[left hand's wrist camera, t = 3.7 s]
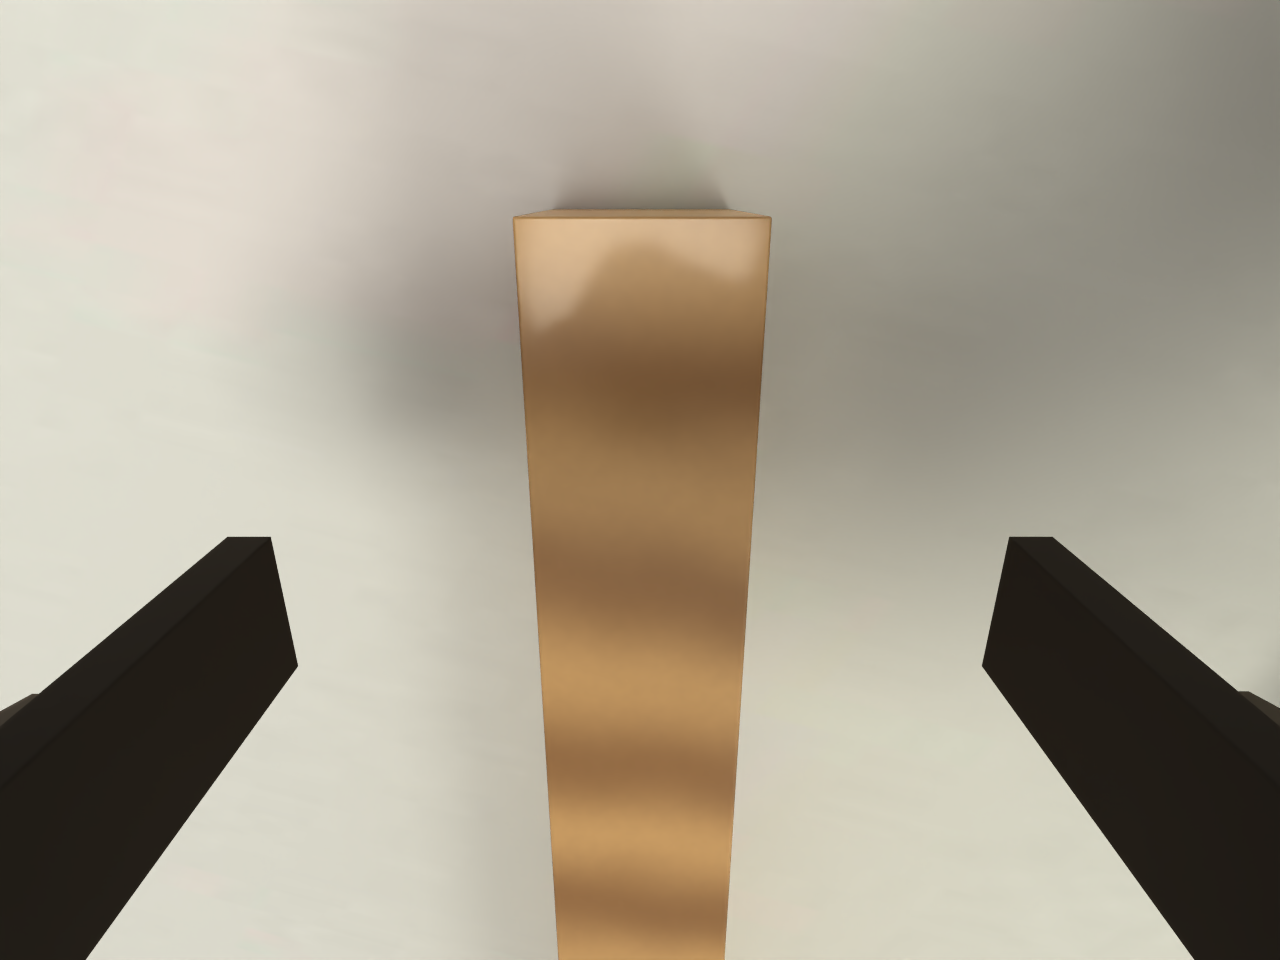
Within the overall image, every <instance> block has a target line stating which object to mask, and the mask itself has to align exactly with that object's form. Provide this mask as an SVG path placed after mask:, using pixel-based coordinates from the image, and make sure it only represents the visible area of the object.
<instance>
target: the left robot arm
mask: <svg viewBox="0 0 1280 960" xmlns="http://www.w3.org/2000/svg"><path fill="white" fill-rule="evenodd" d="M297 667H298V663H297V659H296V654H295V649H294V645H293V640H292V635H291V630H290V626H289V621H288V616H287V612H286V607H285V602H284V597H283V593H282V588H281V583H280V579H279V574H278V569H277V564H276V560H275V555H274V550H273V546H272V541H271V537H227V538H226V539H224V540H223V541H222V542H221V543H220V544H218V545H217V546H216V547H215V548H214V549H212V550H211V551H210V552H209V553H208V554H206V555H205V556H204V557H203V558H202V559H200V560H199V561H198V562H197V563H196V564H194V565H193V566H192V567H191V568H190V569H188V570H187V571H186V572H185V573H184V574H182V575H181V576H180V577H179V578H178V579H176V580H175V581H174V582H173V583H172V584H170V585H169V586H168V587H167V588H166V589H164V590H163V591H162V592H161V593H160V594H158V595H157V596H156V597H155V598H154V599H152V600H151V601H150V602H149V603H148V604H146V605H145V606H144V607H143V608H142V609H140V610H139V611H138V612H137V613H136V614H134V615H133V616H132V617H131V618H130V619H128V620H127V621H126V622H125V623H124V624H122V625H121V626H120V627H119V628H118V629H116V630H115V631H114V632H113V633H112V634H110V635H109V636H108V637H107V638H106V639H104V640H103V641H102V642H101V643H100V644H98V645H97V646H96V647H95V648H94V649H92V650H91V651H90V652H89V653H88V654H86V655H85V656H84V657H83V658H82V659H80V660H79V661H78V662H77V663H76V664H74V665H73V666H72V667H71V668H70V669H68V670H67V671H66V672H65V673H64V674H62V675H61V676H60V677H59V678H58V679H56V680H55V681H54V682H53V683H51V684H50V685H49V686H48V687H47V688H45V689H44V690H43V691H42V692H41V693H39V694H31V695H29V696H27V697H26V698H24V699H22V700H20V701H18V702H16V703H15V704H13V705H11V706H9V707H7V708H6V709H4V710H2V711H0V960H86V959H87V957H88V956H89V954H90V953H91V952H92V950H93V949H94V947H95V946H96V945H97V943H98V942H99V941H100V939H101V938H102V936H103V935H104V934H105V932H106V931H107V929H108V928H109V927H110V925H111V924H112V923H113V921H114V920H115V918H116V917H117V916H118V914H119V913H120V912H121V910H122V909H123V907H124V906H125V905H126V903H127V902H128V900H129V899H130V898H131V896H132V895H133V894H134V892H135V891H136V889H137V888H138V887H139V885H140V884H141V882H142V881H143V880H144V878H145V877H146V876H147V874H148V873H149V871H150V870H151V869H152V867H153V866H154V865H155V863H156V862H157V860H158V859H159V858H160V856H161V855H162V853H163V852H164V851H165V849H166V848H167V847H168V845H169V844H170V842H171V841H172V840H173V838H174V837H175V835H176V834H177V833H178V831H179V830H180V829H181V827H182V826H183V824H184V823H185V822H186V820H187V819H188V818H189V816H190V815H191V813H192V812H193V811H194V809H195V808H196V806H197V805H198V804H199V802H200V801H201V800H202V798H203V797H204V795H205V794H206V793H207V791H208V790H209V789H210V787H211V786H212V784H213V783H214V782H215V780H216V779H217V777H218V776H219V775H220V773H221V772H222V771H223V769H224V768H225V766H226V765H227V764H228V762H229V761H230V759H231V758H232V757H233V755H234V754H235V753H236V751H237V750H238V748H239V747H240V746H241V744H242V743H243V742H244V740H245V739H246V737H247V736H248V735H249V733H250V732H251V730H252V729H253V728H254V726H255V725H256V724H257V722H258V721H259V719H260V718H261V717H262V715H263V714H264V712H265V711H266V710H267V708H268V707H269V706H270V704H271V703H272V701H273V700H274V699H275V697H276V696H277V695H278V693H279V692H280V690H281V689H282V688H283V686H284V685H285V683H286V682H287V681H288V679H289V678H290V677H291V675H292V674H293V672H294V671H295V670H296V668H297ZM982 667H983V668H984V670H985V671H986V672H987V674H988V675H989V677H990V678H991V679H992V681H993V682H994V683H995V685H996V686H997V688H998V689H999V690H1000V692H1001V693H1002V695H1003V696H1004V697H1005V699H1006V700H1007V701H1008V703H1009V704H1010V706H1011V707H1012V708H1013V710H1014V711H1015V712H1016V714H1017V715H1018V717H1019V718H1020V719H1021V721H1022V722H1023V724H1024V725H1025V726H1026V728H1027V729H1028V730H1029V732H1030V733H1031V735H1032V736H1033V737H1034V739H1035V740H1036V742H1037V743H1038V744H1039V746H1040V747H1041V748H1042V750H1043V751H1044V753H1045V754H1046V755H1047V757H1048V758H1049V759H1050V761H1051V762H1052V764H1053V765H1054V766H1055V768H1056V769H1057V771H1058V772H1059V773H1060V775H1061V776H1062V777H1063V779H1064V780H1065V782H1066V783H1067V784H1068V786H1069V787H1070V789H1071V790H1072V791H1073V793H1074V794H1075V795H1076V797H1077V798H1078V800H1079V801H1080V802H1081V804H1082V805H1083V806H1084V808H1085V809H1086V811H1087V812H1088V813H1089V815H1090V816H1091V818H1092V819H1093V820H1094V822H1095V823H1096V824H1097V826H1098V827H1099V829H1100V830H1101V831H1102V833H1103V834H1104V835H1105V837H1106V838H1107V840H1108V841H1109V842H1110V844H1111V845H1112V847H1113V848H1114V849H1115V851H1116V852H1117V853H1118V855H1119V856H1120V858H1121V859H1122V860H1123V862H1124V863H1125V865H1126V866H1127V867H1128V869H1129V870H1130V871H1131V873H1132V874H1133V876H1134V877H1135V878H1136V880H1137V881H1138V882H1139V884H1140V885H1141V887H1142V888H1143V889H1144V891H1145V892H1146V894H1147V895H1148V896H1149V898H1150V899H1151V900H1152V902H1153V903H1154V905H1155V906H1156V907H1157V909H1158V910H1159V912H1160V913H1161V914H1162V916H1163V917H1164V918H1165V920H1166V921H1167V923H1168V924H1169V925H1170V927H1171V928H1172V929H1173V931H1174V932H1175V934H1176V935H1177V936H1178V938H1179V939H1180V941H1181V942H1182V943H1183V945H1184V946H1185V947H1186V949H1187V950H1188V952H1189V953H1190V954H1191V956H1192V957H1193V959H1194V960H1280V708H1278V707H1276V706H1275V705H1273V704H1271V703H1269V702H1267V701H1265V700H1264V699H1262V698H1260V697H1258V696H1256V695H1254V694H1252V693H1251V692H1249V691H1237V690H1236V689H1235V688H1233V687H1232V686H1231V685H1230V684H1229V683H1227V682H1226V681H1225V680H1224V679H1222V678H1221V677H1220V676H1219V675H1218V674H1216V673H1215V672H1214V671H1213V670H1212V669H1210V668H1209V667H1208V666H1207V665H1206V664H1204V663H1203V662H1202V661H1201V660H1200V659H1198V658H1197V657H1196V656H1195V655H1194V654H1192V653H1191V652H1190V651H1189V650H1188V649H1186V648H1185V647H1184V646H1183V645H1182V644H1180V643H1179V642H1178V641H1177V640H1176V639H1174V638H1173V637H1172V636H1171V635H1170V634H1168V633H1167V632H1166V631H1165V630H1164V629H1162V628H1161V627H1160V626H1159V625H1158V624H1156V623H1155V622H1154V621H1153V620H1152V619H1150V618H1149V617H1148V616H1147V615H1146V614H1144V613H1143V612H1142V611H1141V610H1140V609H1138V608H1137V607H1136V606H1135V605H1134V604H1132V603H1131V602H1130V601H1129V600H1128V599H1126V598H1125V597H1124V596H1123V595H1122V594H1120V593H1119V592H1118V591H1117V590H1116V589H1114V588H1113V587H1112V586H1111V585H1110V584H1108V583H1107V582H1106V581H1105V580H1104V579H1102V578H1101V577H1100V576H1099V575H1098V574H1096V573H1095V572H1094V571H1093V570H1092V569H1090V568H1089V567H1088V566H1087V565H1086V564H1084V563H1083V562H1082V561H1081V560H1080V559H1078V558H1077V557H1076V556H1075V555H1074V554H1072V553H1071V552H1070V551H1069V550H1068V549H1066V548H1065V547H1064V546H1063V545H1062V544H1060V543H1059V542H1058V541H1057V540H1056V539H1054V538H1053V537H1009V541H1008V545H1007V550H1006V555H1005V560H1004V564H1003V569H1002V574H1001V579H1000V583H999V588H998V593H997V597H996V602H995V607H994V612H993V616H992V621H991V626H990V630H989V635H988V640H987V645H986V649H985V654H984V659H983V663H982Z"/></svg>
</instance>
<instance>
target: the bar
mask: <svg viewBox="0 0 1280 960" xmlns="http://www.w3.org/2000/svg"><path fill="white" fill-rule="evenodd" d="M771 222H772V219H771V217H769V216H764V215H758V214H753V213H747V212H742V211H736V210H730V209H553V210H547V211H542V212H536V213H531V214H526V215H520V216H515V217H513V231H514V248H515V264H516V280H517V296H518V312H519V328H520V345H521V361H522V377H523V393H524V409H525V426H526V442H527V458H528V474H529V490H530V507H531V523H532V539H533V555H534V571H535V587H536V604H537V620H538V636H539V652H540V668H541V685H542V701H543V717H544V733H545V749H546V765H547V782H548V798H549V814H550V830H551V846H552V863H553V879H554V895H555V911H556V927H557V944H558V960H724V957H725V941H726V926H727V910H728V895H729V879H730V863H731V848H732V832H733V816H734V801H735V785H736V769H737V754H738V738H739V722H740V707H741V691H742V676H743V660H744V644H745V629H746V613H747V597H748V582H749V566H750V550H751V535H752V519H753V503H754V488H755V472H756V456H757V441H758V425H759V410H760V394H761V378H762V363H763V347H764V331H765V316H766V300H767V284H768V269H769V253H770V237H771Z"/></svg>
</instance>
